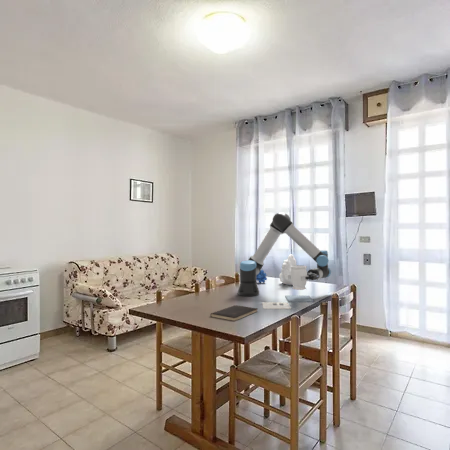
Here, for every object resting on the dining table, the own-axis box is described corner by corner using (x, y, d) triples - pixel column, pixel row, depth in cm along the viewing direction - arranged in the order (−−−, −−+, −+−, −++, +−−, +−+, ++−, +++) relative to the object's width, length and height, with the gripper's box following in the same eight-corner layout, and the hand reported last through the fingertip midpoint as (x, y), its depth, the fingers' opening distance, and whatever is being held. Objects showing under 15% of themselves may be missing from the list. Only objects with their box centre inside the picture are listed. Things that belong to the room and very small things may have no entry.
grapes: (252, 283, 285) (252, 269, 285) (254, 282, 291) (254, 268, 291) (265, 284, 280) (265, 269, 280) (267, 282, 286) (267, 268, 286)
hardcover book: (257, 312, 189) (257, 308, 189) (234, 322, 171) (234, 317, 171) (234, 308, 199) (234, 304, 199) (210, 317, 180) (210, 313, 180)
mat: (288, 302, 212) (288, 300, 212) (285, 296, 227) (285, 295, 227) (313, 302, 210) (313, 300, 210) (309, 296, 226) (309, 295, 226)
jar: (295, 290, 213) (294, 267, 213) (288, 288, 223) (287, 265, 223) (310, 289, 215) (309, 266, 216) (302, 287, 225) (302, 264, 226)
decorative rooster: (287, 281, 290) (286, 253, 291) (303, 283, 280) (302, 253, 280) (270, 285, 272) (270, 255, 272) (287, 287, 261) (286, 256, 262)
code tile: (263, 308, 195) (263, 308, 195) (262, 302, 211) (262, 302, 211) (291, 308, 194) (291, 308, 194) (287, 302, 210) (287, 302, 210)
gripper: (329, 281, 222) (309, 285, 208) (301, 278, 239) (281, 281, 225) (329, 270, 222) (309, 273, 208) (301, 267, 239) (281, 270, 225)
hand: (295, 277), depth 216 cm, fingers closed on jar, 10 cm apart
